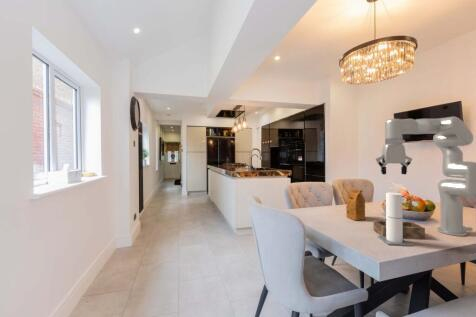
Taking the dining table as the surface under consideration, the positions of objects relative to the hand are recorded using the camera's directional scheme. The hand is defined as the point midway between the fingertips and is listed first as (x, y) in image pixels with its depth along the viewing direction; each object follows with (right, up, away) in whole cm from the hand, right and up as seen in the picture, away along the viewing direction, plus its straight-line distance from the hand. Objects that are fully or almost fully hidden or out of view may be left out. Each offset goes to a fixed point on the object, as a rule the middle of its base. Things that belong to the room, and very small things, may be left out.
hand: (393, 174), depth 116 cm
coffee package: (+3, -36, +44) cm, 57 cm away
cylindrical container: (0, -36, 0) cm, 36 cm away
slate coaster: (0, -36, 0) cm, 36 cm away
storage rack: (+10, -36, +11) cm, 39 cm away
